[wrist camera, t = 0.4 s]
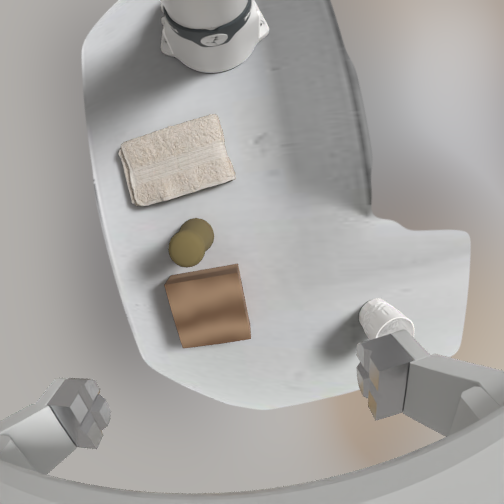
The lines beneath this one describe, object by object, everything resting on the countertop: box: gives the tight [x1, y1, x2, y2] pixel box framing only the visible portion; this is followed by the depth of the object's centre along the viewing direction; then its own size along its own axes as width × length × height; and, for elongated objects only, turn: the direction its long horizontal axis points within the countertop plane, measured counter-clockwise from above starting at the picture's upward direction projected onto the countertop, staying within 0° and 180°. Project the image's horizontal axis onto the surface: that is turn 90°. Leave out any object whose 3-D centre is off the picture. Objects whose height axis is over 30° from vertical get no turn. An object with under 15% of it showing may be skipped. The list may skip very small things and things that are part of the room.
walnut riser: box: [164, 264, 251, 348], centre depth 52 cm, size 12×12×5 cm
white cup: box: [359, 299, 414, 340], centre depth 52 cm, size 8×8×10 cm
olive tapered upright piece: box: [168, 218, 214, 267], centre depth 46 cm, size 6×6×11 cm
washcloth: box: [118, 114, 236, 206], centre depth 48 cm, size 12×18×3 cm, turn 105°
